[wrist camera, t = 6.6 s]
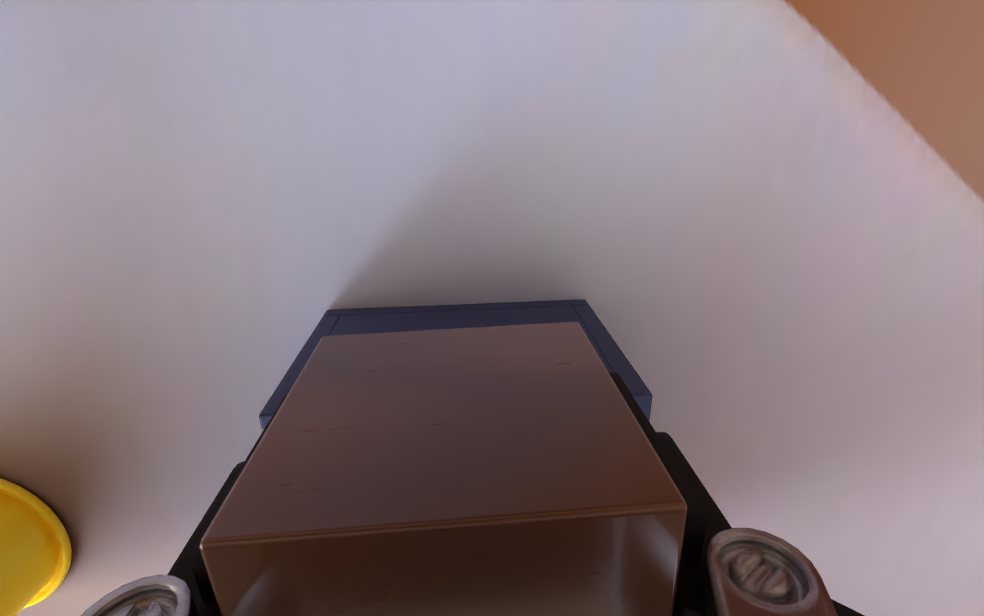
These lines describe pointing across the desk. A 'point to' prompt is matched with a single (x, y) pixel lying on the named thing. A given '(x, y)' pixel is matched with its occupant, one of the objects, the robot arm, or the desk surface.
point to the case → (465, 318)
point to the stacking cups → (29, 549)
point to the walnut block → (451, 486)
